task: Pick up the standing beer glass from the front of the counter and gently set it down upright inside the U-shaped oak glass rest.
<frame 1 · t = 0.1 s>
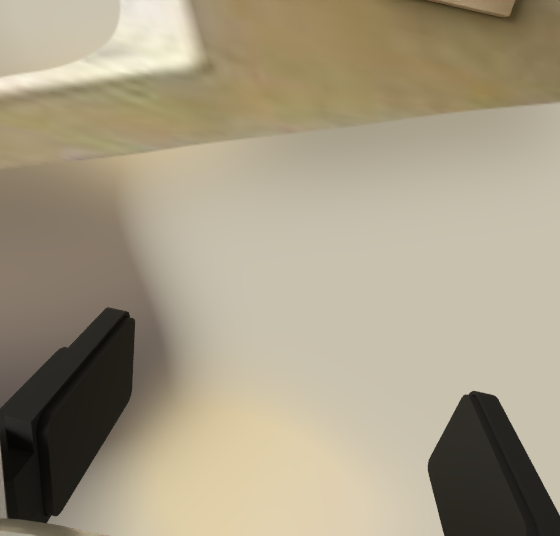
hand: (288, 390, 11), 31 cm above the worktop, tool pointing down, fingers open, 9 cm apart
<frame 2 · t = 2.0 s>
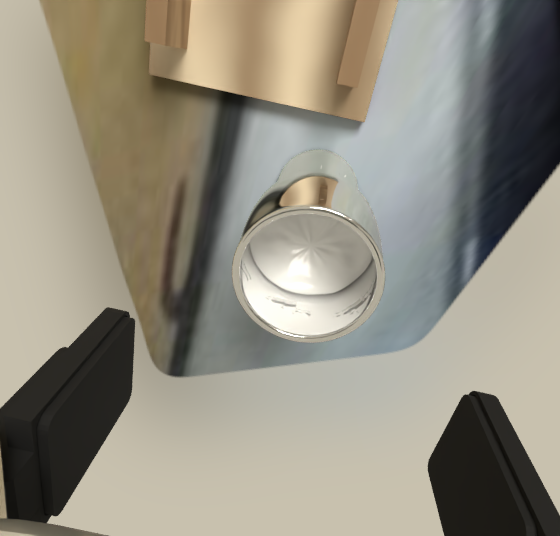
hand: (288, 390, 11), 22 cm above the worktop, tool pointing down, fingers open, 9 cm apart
beer glass: (317, 189, 31), on the worktop
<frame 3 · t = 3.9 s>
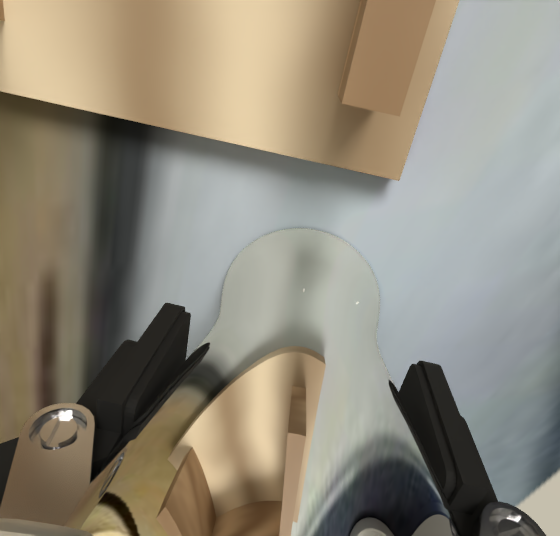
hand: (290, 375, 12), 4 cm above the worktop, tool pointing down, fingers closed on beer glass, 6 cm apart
beer glass: (300, 296, 16), on the worktop, touching gripper
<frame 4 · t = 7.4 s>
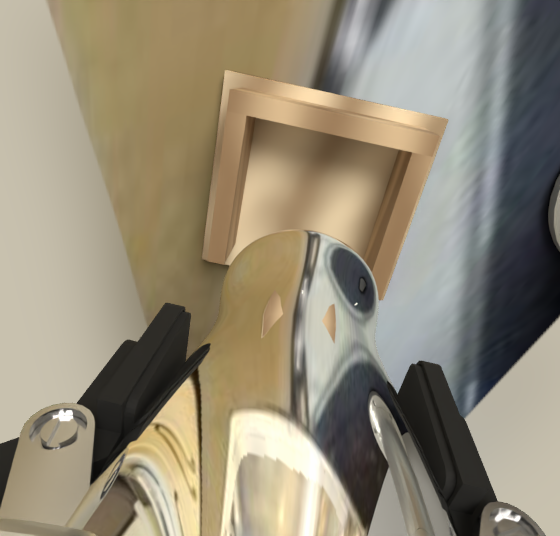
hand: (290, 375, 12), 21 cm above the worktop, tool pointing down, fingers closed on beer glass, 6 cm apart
glass rest: (312, 193, 31), on the worktop
beer glass: (299, 297, 16), point 16 cm above the worktop, touching gripper
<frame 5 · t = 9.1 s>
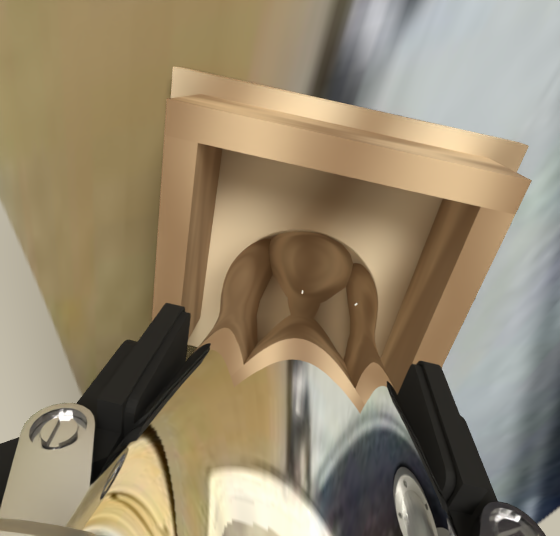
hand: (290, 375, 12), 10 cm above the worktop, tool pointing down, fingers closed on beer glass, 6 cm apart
glass rest: (311, 249, 21), on the worktop
beer glass: (299, 297, 16), point 5 cm above the worktop, touching gripper
when the fingers open (7 cm above the worktop, at t = 10.7 s): beer glass drops 1 cm, resting on glass rest.
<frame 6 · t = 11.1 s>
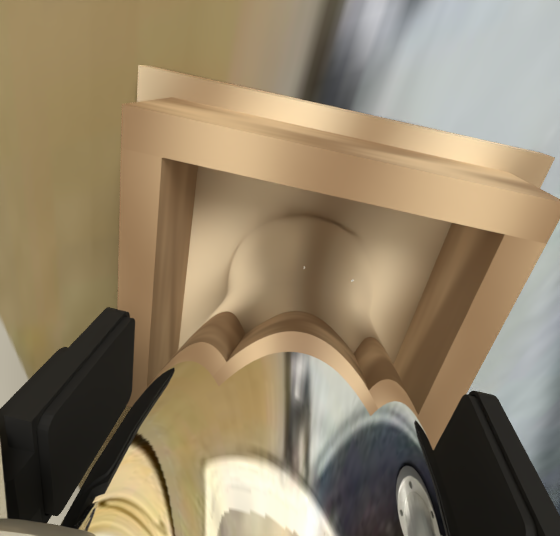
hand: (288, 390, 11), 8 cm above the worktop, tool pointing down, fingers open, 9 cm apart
glass rest: (303, 272, 18), on the worktop
beer glass: (300, 280, 17), point 1 cm above the worktop, touching glass rest
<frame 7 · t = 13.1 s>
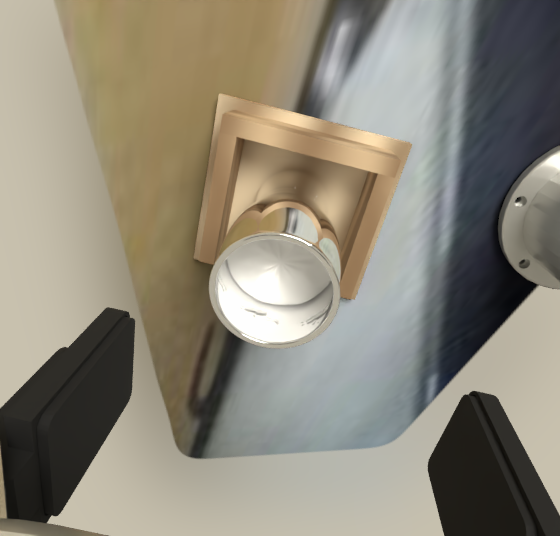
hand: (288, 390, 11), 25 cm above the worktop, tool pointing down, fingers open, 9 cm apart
glass rest: (294, 203, 34), on the worktop
beer glass: (292, 205, 34), point 1 cm above the worktop, touching glass rest
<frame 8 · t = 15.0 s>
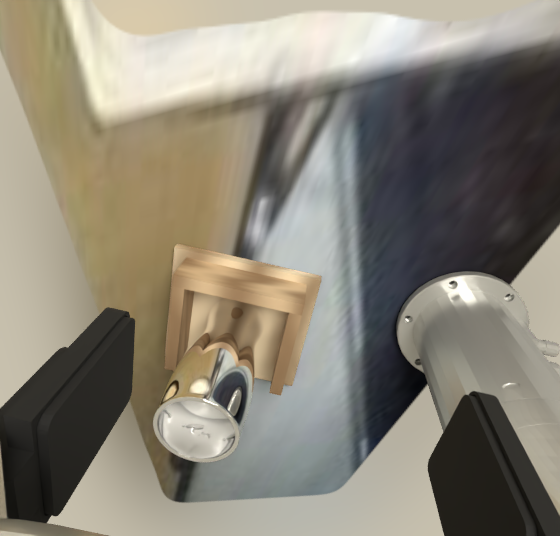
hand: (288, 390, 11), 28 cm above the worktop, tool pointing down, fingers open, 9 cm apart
glass rest: (239, 316, 44), on the worktop
beer glass: (237, 320, 44), point 1 cm above the worktop, touching glass rest
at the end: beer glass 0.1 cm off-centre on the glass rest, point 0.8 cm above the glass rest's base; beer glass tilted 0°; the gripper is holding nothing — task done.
